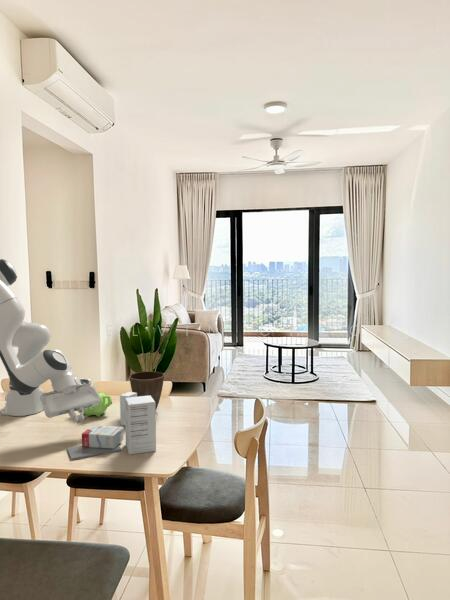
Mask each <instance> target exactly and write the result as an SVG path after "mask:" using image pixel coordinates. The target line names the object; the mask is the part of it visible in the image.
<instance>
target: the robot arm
mask: <svg viewBox="0 0 450 600" xmlns="http://www.w3.org/2000/svg"><path fill="white" fill-rule="evenodd" d="M17 279H18V276H17V271H16V269H15V267H14V266H13V264H12V263H10V262H8V261H7V260H6V259H3V258H0V359H1V362H2V364H3V366H4V368H5V370H6V372H7V375H8V379H9V384H8V385H9V387H8V388H9V391H8V392H7V393H6V394H5V398H4V401H5V404H4V407H3V409H2V410H1V412H0V415H5V416H6V415H7V416H12V417H13V416H14V417H21V416H23V417H24V416H29V415H34V414H37V413H41V412H42V411H44V415H45V417H47V418H49V419H50V418H56V417H57V416H58V417H59V416H63V415H66V414H68V416H70V418H71V419H73V420H74V423H78V422H82V421H84V420H85V414H83V412H84V409H86V408H90V407H94V406H97V405H98V404H99V402H100V400H101V398H100V396H99V394H98V392H99V391H98V390H97V389H96V387H95V386H93V385H92V380H91V379H88V378H80V377H76V375H75V374H74V373H73V369H72V366H71V364H70V362H69V359H68V358H67V356H66V355H65V354H64V352H63V351H62V350H60V349H45V350H44V348H45V347H46V346H48V344H49V342H50V340H51V337H52V336H51V330H50V328H48V326H46V325H44V324H40V323H37V322H26V321H25V320H24V319H25V315H26V313H25V311H26V310H25V308H24V306H23V304H22V302H21V301H20V300H19V298H18V297H17V296H16V294H15V293H14V292H13V291H12V289H11V288H9V286H12V285H13V284H14V283H15V282H16V281H17ZM14 348H17V353H16V350H14ZM47 381H50V383H51V387H52V388H51V389H52V390H53V391H50V392H44V390H43V388H41V387H40V386H41V385H43V384H44V383H46V382H47ZM75 412H77V413H79V414H76V413H75Z"/></svg>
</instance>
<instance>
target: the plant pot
mask: <svg viewBox="0 0 450 600" xmlns="http://www.w3.org/2000/svg"><path fill="white" fill-rule="evenodd" d="M128 377H129V383H130V388H131V392H135V393H137V397H139V396H151V397H152V398H153V400H154V401H155V403H156V410H157V409H158V406H159V403H160V400H161V395H162V392H163V387H164V378H165V373H163V372H159V371H139V372H134V373H132V374H130V375H129V376H128Z"/></svg>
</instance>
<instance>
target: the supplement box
mask: <svg viewBox="0 0 450 600" xmlns="http://www.w3.org/2000/svg"><path fill="white" fill-rule="evenodd" d="M156 413H157V409H156V403H155V401H154V400H153V398H152V397H151V396H139V397H129V398H125V417H126V422H125V425H124V427H125V429H124V430H125V448H126V450H127V453H128V455H135V454H143V453H150V452H156V451H157V431H156V430H157V424H156V423H157V422H156V421H157V420H156V418H157V414H156Z"/></svg>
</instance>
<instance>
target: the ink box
mask: <svg viewBox="0 0 450 600" xmlns="http://www.w3.org/2000/svg"><path fill="white" fill-rule="evenodd" d="M124 431H125V429H124V426H116V425H115V426H113V425H110V426H109V425H99V424H98V425H94V424H93V425H92V426H90V427H89V428H87V429H86V430H85V431H84V432H82V433H81V445H82V447H93V448H109V449H114V448H115V447H116V446H117V445H119V444H121V443H122V442H123V440H124Z"/></svg>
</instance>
